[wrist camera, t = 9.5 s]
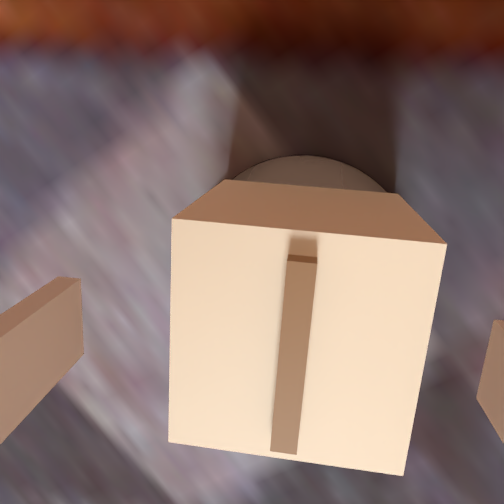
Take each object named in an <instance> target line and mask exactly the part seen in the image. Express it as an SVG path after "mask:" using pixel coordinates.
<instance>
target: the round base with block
mask: <svg viewBox="0 0 504 504" xmlns="http://www.w3.org/2000/svg"><path fill="white" fill-rule="evenodd" d="M232 180H239V181H251V182H263V183H275V184H287V185H299V186H311V187H323V188H335V189H347V190H359V191H371V192H383V193H387V192H386V191H385V190H384V189H383V188H382V187H381V186H380V185H379V184H378V183H377V182H376V181H374V180H373V179H372V178H371V177H369V176H368V175H367V174H365V173H363V172H362V171H360V170H358V169H357V168H355V167H353V166H350V165H348V164H346V163H343V162H341V161H338V160H334V159H331V158H327V157H321V156H314V155H291V156H283V157H278V158H274V159H271V160H267V161H264V162H262V163H259V164H257V165H254V166H252V167H250V168H249V169H247V170H245V171H244V172H242V173H240V174H239V175H237V176H236V177H235V178H234V179H232Z"/></svg>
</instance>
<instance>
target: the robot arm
mask: <svg viewBox="0 0 504 504" xmlns="http://www.w3.org/2000/svg"><path fill="white" fill-rule="evenodd" d="M83 354H84V347H83V323H82V299H81V279H78V278H68V277H57V278H55V279H54V280H52V281H51V282H49V283H48V284H46V285H45V286H43V287H42V288H40V289H39V290H37V291H36V292H34V293H33V294H31V295H30V296H28V297H27V298H25V299H23V300H22V301H20V302H19V303H17V304H16V305H14V306H13V307H11V308H10V309H8V310H7V311H5V312H4V313H2V314H1V315H0V444H1V443H2V442H3V441H4V440H5V439H6V438H7V437H8V436H9V434H10V433H11V432H12V431H13V430H14V429H15V428H16V427H17V426H18V425H19V424H20V423H21V421H22V420H23V419H24V418H25V417H26V416H27V415H28V414H29V413H30V412H31V411H32V410H33V408H34V407H35V406H36V405H37V404H38V403H39V402H40V401H41V400H42V399H43V398H44V396H45V395H46V394H47V393H48V392H49V391H50V390H51V389H52V388H53V387H54V386H55V385H56V383H57V382H58V381H59V380H60V379H61V378H62V377H63V376H64V375H65V374H66V373H67V372H68V370H69V369H70V368H71V367H72V366H73V365H74V364H75V363H76V362H77V361H78V360H79V359H80V357H81V356H82V355H83ZM476 399H477V400H478V402H479V404H480V405H481V407H482V409H483V410H484V412H485V414H486V415H487V417H488V419H489V420H490V422H491V423H492V425H493V427H494V428H495V430H496V432H497V433H498V435H499V437H500V438H501V440H502V442H503V443H504V321H503V320H494V322H493V326H492V331H491V335H490V339H489V344H488V348H487V353H486V357H485V362H484V366H483V370H482V375H481V379H480V384H479V388H478V393H477V397H476Z"/></svg>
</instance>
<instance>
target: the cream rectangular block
mask: <svg viewBox="0 0 504 504" xmlns="http://www.w3.org/2000/svg"><path fill="white" fill-rule="evenodd" d="M446 247H447V244H446V243H445V242H444V240H443V239H442V238H441V237H440V236H439V235H438V234H437V233H436V232H435V231H434V230H433V229H432V228H431V227H430V226H429V225H428V224H427V223H426V222H425V221H424V220H423V219H422V218H421V217H420V216H419V215H418V214H417V213H416V212H415V211H414V210H413V209H412V208H411V207H410V206H409V205H408V204H407V203H406V202H405V201H404V200H403V199H402V197H401V196H400V195H399V194H395V193H383V192H371V191H359V190H347V189H335V188H323V187H311V186H299V185H287V184H275V183H263V182H251V181H239V180H227V179H225V180H223V181H222V182H221V183H219V184H218V185H216V186H215V187H214V188H212V189H211V190H210V191H208V192H207V193H206V194H204V195H203V196H202V197H200V198H199V199H198V200H196V201H195V202H193V203H192V204H191V205H189V206H188V207H187V208H185V209H184V210H183V211H181V212H180V213H179V214H177V215H176V216H174V217H173V218H172V239H171V305H170V372H169V439H168V442H171V443H178V444H185V445H192V446H199V447H206V448H213V449H220V450H227V451H234V452H241V453H247V454H254V455H261V456H268V457H275V458H282V459H289V460H296V461H303V462H310V463H317V464H324V465H330V466H337V467H344V468H351V469H358V470H365V471H372V472H379V473H386V474H393V475H400V476H403V474H404V468H405V463H406V458H407V453H408V447H409V442H410V437H411V431H412V426H413V421H414V416H415V410H416V405H417V400H418V395H419V389H420V384H421V379H422V374H423V368H424V363H425V358H426V352H427V347H428V342H429V337H430V331H431V326H432V321H433V316H434V310H435V305H436V300H437V295H438V289H439V284H440V279H441V273H442V268H443V263H444V258H445V252H446Z"/></svg>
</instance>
